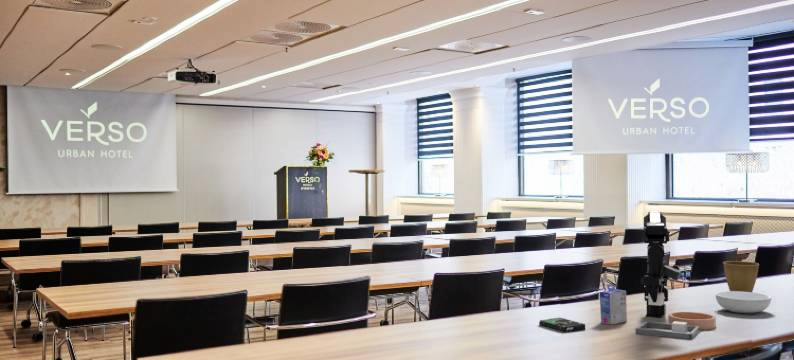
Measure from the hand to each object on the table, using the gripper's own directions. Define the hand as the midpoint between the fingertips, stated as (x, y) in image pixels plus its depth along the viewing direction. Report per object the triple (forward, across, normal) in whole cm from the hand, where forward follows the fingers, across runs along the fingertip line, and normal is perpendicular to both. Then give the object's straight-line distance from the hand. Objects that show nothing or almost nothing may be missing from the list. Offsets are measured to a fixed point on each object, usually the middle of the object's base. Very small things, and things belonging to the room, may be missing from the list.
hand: (656, 301), depth 264 cm
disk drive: (+12, -10, +32) cm, 36 cm away
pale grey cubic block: (+11, 0, -8) cm, 14 cm away
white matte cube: (+1, 0, 0) cm, 1 cm away
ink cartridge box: (+11, +9, +18) cm, 23 cm away
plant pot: (+11, +94, -17) cm, 96 cm away
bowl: (+11, +18, -9) cm, 23 cm away
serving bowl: (+11, +57, -22) cm, 62 cm away
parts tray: (+11, 0, -4) cm, 12 cm away
